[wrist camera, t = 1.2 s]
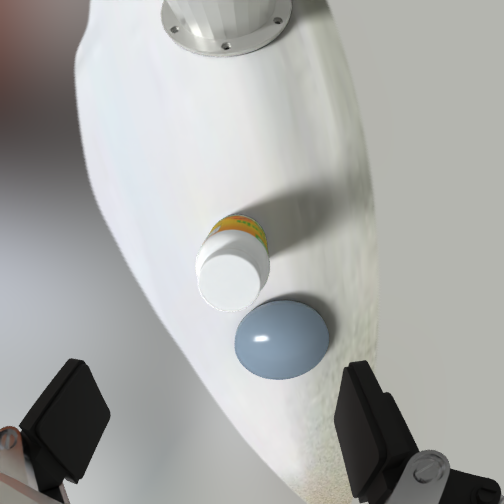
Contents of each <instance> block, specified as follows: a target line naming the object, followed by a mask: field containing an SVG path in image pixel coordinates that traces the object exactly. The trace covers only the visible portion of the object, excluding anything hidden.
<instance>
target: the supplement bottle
mask: <svg viewBox="0 0 504 504" xmlns="http://www.w3.org/2000/svg"><path fill="white" fill-rule="evenodd" d="M269 272H270V261H269V255H268V248H267V241H266V236H265V233H264V231H263V229H262V227H261V226H260V225H259V224H258V223H257V222H256V221H255V220H253V219H252V218H250V217H247V216H244V215H231V216H227V217H225V218H223V219H221V220H220V221H219V222H218V223H217V224H216V225H215V226H214V227H213V228H212V230H211V232H210V233H209V235H208V236H207V238H206V239H205V241H204V243H203V244H202V246H201V248H200V250H199V252H198V254H197V258H196V274H197V277H198V288H199V291H200V294H201V295H202V297H203V299H204V300H205V301H206V302H207V303H208V304H209V305H210V306H212V307H214V308H215V309H218V310H221V311H225V312H236V311H240V310H243V309H245V308H247V307H249V306H250V305H251V304H253V302H254V301H255V300H256V299H257V297H258V295H259V293H260V291H261V289H262V288H263V287H264V285H265V284H266V282H267V279H268V276H269Z"/></svg>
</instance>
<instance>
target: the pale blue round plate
mask: <svg viewBox="0 0 504 504" xmlns="http://www.w3.org/2000/svg"><path fill="white" fill-rule="evenodd" d="M328 344H329V333H328V330H327V327H326V324H325V322H324V320H323V318H322V317H321V316H320V314H319V313H318V312H317V311H316V310H314V309H313V308H311V307H310V306H308V305H306V304H303V303H300V302H296V301H289V300H281V301H274V302H269V303H266V304H263V305H261V306H259V307H257V308H255V309H254V310H252V311H251V312H250V313H248V314H247V315H246V316H245V317H244V318H243V320H242V321H241V323H240V324H239V326H238V328H237V331H236V336H235V352H236V355H237V358H238V359H239V361H240V363H241V364H242V365H243V366H244V367H245V368H246V369H247V370H249V371H250V372H251V373H253V374H255V375H257V376H260V377H263V378H267V379H275V380H283V379H290V378H294V377H297V376H300V375H302V374H304V373H306V372H308V371H310V370H311V369H313V368H314V367H315V366H316V365H317V364H318V363H319V362H320V361H321V360H322V358H323V357H324V355H325V353H326V351H327V348H328Z"/></svg>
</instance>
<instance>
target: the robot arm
mask: <svg viewBox="0 0 504 504" xmlns="http://www.w3.org/2000/svg"><path fill="white" fill-rule="evenodd" d="M291 10H292V1H291V0H164V2H163V4H162V8H161V22H162V25H163V27H164V30H165V31H166V33H167V34H168V36H169V37H170V38H171V39H172V40H173V41H174V42H175V43H176V44H177V45H179V46H180V47H182V48H183V49H185V50H188V51H190V52H192V53H195V54H199V55H203V56H212V57H228V56H235V55H241V54H245V53H248V52H251V51H254V50H257V49H259V48H261V47H263V46H265V45H267V44H268V43H270V42H271V41H272V40H274V39H275V38H277V36H278V35H279V34H280V33H281V32H282V31H283V30H284V28H285V27H286V25H287V23H288V21H289V18H290V15H291ZM275 23H279V24H275ZM175 32H177V33H175ZM225 48H230V49H229V50H225ZM109 420H110V410H109V408H108V407H107V404H106V403H105V401H104V399H103V397H102V395H101V393H100V390H99V388H98V386H97V384H96V382H95V380H94V378H93V376H92V373H91V371H90V369H89V367H88V365H86V363H85V362H84V361H83V360H78V359H72V358H71V359H69V360H68V361H67V362H66V363H65V365H64V366H63V367H62V368H61V370H60V371H59V372H58V373H57V375H56V376H55V377H54V379H53V380H52V381H51V382H50V384H49V385H48V386H47V388H46V389H45V390H44V391H43V393H42V394H41V395H40V397H39V398H38V400H37V401H36V402H35V404H34V405H33V406H32V408H31V409H30V410H29V412H28V413H27V415H26V416H25V417H24V419H23V420H22V422H21V423H20V425H19V427H20V428H21V429H22V431H21V432H20V431H19V430H18V429H17V428H15V427H12V426H6V427H3V428H1V429H0V504H70V502H69V499H68V496H67V493H66V490H65V487H64V484H63V480H64V478H65V479H66V480H67V481H70V482H72V483H75V484H77V483H78V481H79V479H82V478H83V476H84V474H85V471H86V469H87V467H88V465H89V462H90V460H91V458H92V455H93V454H94V451H95V449H96V447H97V445H98V443H99V441H100V438H101V436H102V434H103V432H104V430H105V428H106V426H107V424H108V422H109ZM334 424H335V428H336V432H337V436H338V439H339V443H340V447H341V451H342V455H343V459H344V463H345V466H346V470H347V474H348V479H349V483H350V487H351V491H352V495H353V497H354V498H359V502H360V503H363V502H368V503H369V504H504V496H503V495H501V489H500V486H499V484H498V483H497V482H496V481H495V480H492V479H489V478H485V477H480V476H476V475H472V474H468V473H464V472H461V471H457V470H453V469H450V464H449V461H448V459H447V458H446V456H444V455H443V454H442V453H440V452H438V451H435V450H425V451H421V452H419V449H418V447H417V445H416V443H415V441H414V439H413V437H412V435H411V433H410V430H409V429H408V426H407V424H406V422H405V420H404V418H403V417H402V414H401V412H400V411H399V408H398V407H397V404H396V403H395V400H394V398H393V397H392V395H391V394H390V393H388V392H386V393H383V392H382V389H381V387H380V386H379V384H378V381H377V379H376V377H375V375H374V373H373V371H372V370H371V368H370V366H369V364H368V362H367V361H366V360H364V361H357V362H351V363H349V366H348V367H345V368H344V370H343V376H342V381H341V386H340V391H339V396H338V401H337V406H336V410H335V415H334Z"/></svg>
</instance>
